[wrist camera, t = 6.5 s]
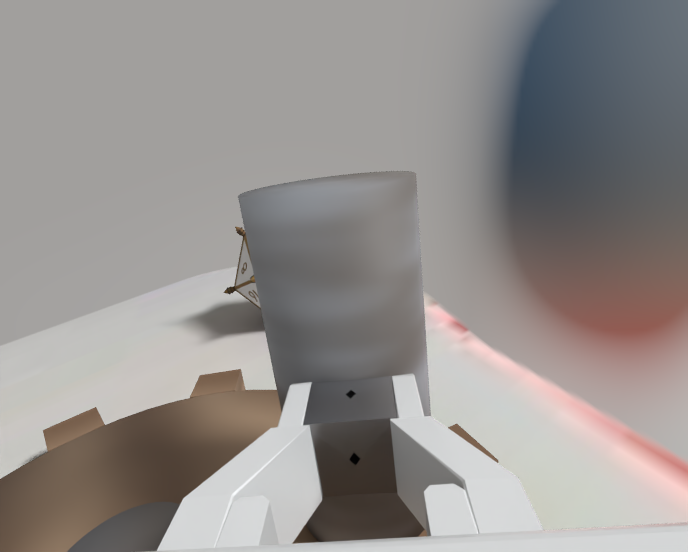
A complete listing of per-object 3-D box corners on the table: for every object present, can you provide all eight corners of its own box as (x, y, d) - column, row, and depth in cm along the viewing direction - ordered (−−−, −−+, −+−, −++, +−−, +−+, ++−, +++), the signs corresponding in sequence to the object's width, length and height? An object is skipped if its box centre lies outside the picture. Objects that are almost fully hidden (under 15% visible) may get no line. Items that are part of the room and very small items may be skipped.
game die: (320, 358, 33) (362, 279, 26) (214, 345, 31) (228, 256, 24) (318, 278, 39) (351, 197, 32) (229, 262, 37) (244, 172, 30)
